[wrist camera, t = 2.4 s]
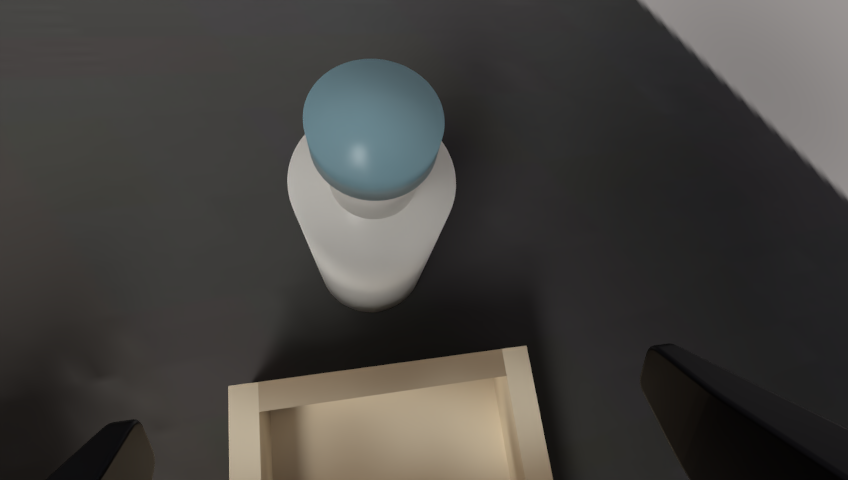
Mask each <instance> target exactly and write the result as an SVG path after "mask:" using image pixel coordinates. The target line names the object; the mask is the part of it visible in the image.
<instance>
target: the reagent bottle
mask: <svg viewBox="0 0 848 480" xmlns="http://www.w3.org/2000/svg"><path fill="white" fill-rule="evenodd" d="M303 127H304V131H305V135H304V136H303V138H302V139H301V140H300V142H299V143H298V145H297V147H296V148H295V150H294V153H293V155H292V158H291V160H290V164H289V168H288V178H287V183H288V193H289V198H290V202H291V204H292V207H293V210H294V212H295V215H296V217H297V219H298V222H299V224H300V226H301V229H302V231H303V234H304V236H305V238H306V241H307V243H308V245H309V248H310V250H311V252H312V255H313V257H314V260H315V262H316V264H317V267H318V269H319V271H320V274H321V276H322V278H323V281H324V283H325V285H326V287H327V289H328V290H329V292H330V293H331V294H332V295H333V297H334V298H335V299H336V300H338V301H339V302H340V303H342V304H343V305H345V306H347V307H349V308H351V309H353V310H357V311H361V312H380V311H384V310H388V309H390V308H393V307H395V306H396V305H398V304H400V303H401V302H402V301H404V300H405V299H406V298H407V297H408V296H409V295H410V293H411V292H412V291H413V289H414V288H415V286H416V284H417V282H418V280H419V278H420V276H421V273H422V271H423V269H424V267H425V265H426V263H427V261H428V258H429V256H430V254H431V252H432V250H433V248H434V246H435V243H436V241H437V239H438V237H439V235H440V233H441V231H442V228H443V226H444V224H445V222H446V220H447V218H448V216H449V213H450V211H451V208H452V206H453V202H454V198H455V191H456V176H455V170H454V166H453V162H452V159H451V157H450V155H449V152H448V150H447V148H446V147H445V145H444V144H443V142H442V137H443V134H444V127H445V120H444V112H443V108H442V105H441V102H440V100H439V98H438V96H437V94H436V92H435V91H434V89H433V88H432V87H431V86H430V84H429V83H428V82H427V81H426V80H425V79H424V78H423V77H421V76H420V75H419V74H417V73H416V72H415V71H413V70H411V69H409V68H408V67H406V66H403V65H401V64H398V63H395V62H392V61H387V60H382V59H360V60H354V61H350V62H347V63H344V64H341V65H339V66H337V67H335V68H333V69H331V70H330V71H328V72H327V73H326V74H324V75H323V76H322V77H321V78H320V79H319V80H318V81H317V82H316V83H315V85H314V86H313V87H312V89H311V90H310V92H309V94H308V96H307V99H306V101H305V105H304V109H303Z"/></svg>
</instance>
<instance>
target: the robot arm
mask: <svg viewBox="0 0 848 480" xmlns="http://www.w3.org/2000/svg"><path fill="white" fill-rule="evenodd" d="M640 385H641V388H642V391H643V393H644V395H645V397H646V399H647V401H648V403H649V405H650V407H651V409H652V411H653V413H654V415H655V417H656V418H657V420H658V422H659V424H660V426H661V428H662V430H663V432H664V434H665V436H666V438H667V440H668V442H669V444H670V446H671V448H672V450H673V452H674V453H675V455H676V457H677V459H678V461H679V462H680V464H681V466H682V468H683V469H684V471H685V473H686V474H687V476H688V478H689V479H690V480H848V429H846V428H844V427H842V426H840V425H838V424H836V423H834V422H832V421H830V420H828V419H826V418H824V417H822V416H820V415H818V414H816V413H814V412H812V411H810V410H808V409H805V408H803V407H801V406H799V405H797V404H795V403H793V402H791V401H789V400H787V399H785V398H783V397H781V396H779V395H777V394H775V393H773V392H771V391H769V390H767V389H765V388H762V387H760V386H758V385H756V384H754V383H752V382H750V381H748V380H746V379H744V378H742V377H740V376H738V375H736V374H734V373H732V372H730V371H728V370H726V369H724V368H722V367H719V366H717V365H715V364H713V363H711V362H709V361H707V360H705V359H703V358H701V357H699V356H697V355H695V354H693V353H691V352H689V351H687V350H685V349H683V348H681V347H679V346H676V345H674V344H662V345H654V346H651V347H650V348H649V349H648V351H647V354H646V358H645V361H644V365H643V368H642V372H641V375H640ZM154 464H155V457H154V452H153V450H152V447H151V445H150V442H149V440H148V438H147V435H146V433H145V431H144V428H143V426H142V424H141V423H140V422H139V421H138V420H134V419H133V420H126V421H119V422H113V423H110V424H108V425H106V426H105V427H104V428H102V429H101V430H100V431H99V432H98V433H97V434H96V435H95V436H93V437H92V438H91V439H90V440H89V441H88V442H87V443H86V444H85V445H83V446H82V447H81V448H80V449H79V450H78V451H77V452H76V453H75V454H74V455H72V456H71V457H70V458H69V459H68V460H67V461H66V462H65V463H64V464H62V465H61V466H60V467H59V468H58V469H57V470H56V471H55V472H54V473H52V474H51V475H50V476H49V477H48V478H47V479H46V480H152V476H153V471H154Z"/></svg>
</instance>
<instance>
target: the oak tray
mask: <svg viewBox="0 0 848 480" xmlns="http://www.w3.org/2000/svg"><path fill="white" fill-rule="evenodd" d="M228 401H229V480H553V477H552V472H551V467H550V462H549V457H548V452H547V447H546V441H545V436H544V431H543V426H542V421H541V416H540V411H539V406H538V401H537V396H536V391H535V386H534V381H533V376H532V371H531V366H530V361H529V356H528V351H527V346H520V347H512V348H505V349H498V350H490V351H483V352H476V353H468V354H461V355H454V356H446V357H439V358H432V359H424V360H417V361H409V362H402V363H395V364H387V365H380V366H373V367H365V368H358V369H351V370H343V371H336V372H329V373H321V374H314V375H307V376H299V377H292V378H285V379H277V380H270V381H263V382H255V383H248V384H241V385H233V386H228Z"/></svg>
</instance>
